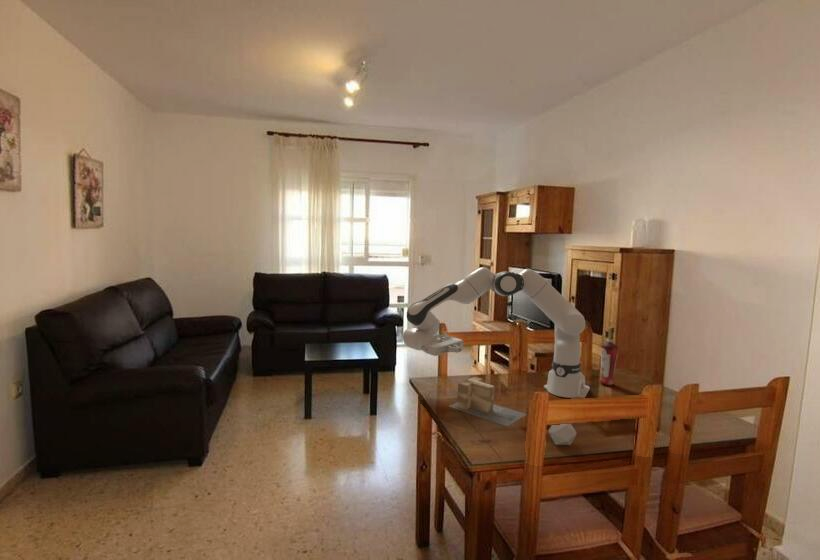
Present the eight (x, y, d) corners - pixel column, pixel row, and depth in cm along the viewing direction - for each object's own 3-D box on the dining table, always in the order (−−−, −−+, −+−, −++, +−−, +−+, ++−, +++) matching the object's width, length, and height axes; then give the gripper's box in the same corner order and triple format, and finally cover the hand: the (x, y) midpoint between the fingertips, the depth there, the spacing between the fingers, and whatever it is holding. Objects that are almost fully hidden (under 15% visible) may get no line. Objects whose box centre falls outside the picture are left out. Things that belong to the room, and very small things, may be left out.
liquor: (595, 382, 228) (599, 325, 225) (607, 381, 230) (612, 325, 227) (605, 387, 221) (610, 329, 218) (618, 386, 223) (623, 329, 220)
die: (570, 453, 155) (584, 428, 157) (548, 438, 156) (562, 413, 158) (562, 450, 163) (575, 426, 165) (541, 436, 164) (554, 412, 166)
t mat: (470, 396, 202) (470, 396, 202) (527, 414, 185) (527, 414, 185) (448, 406, 190) (448, 406, 190) (507, 427, 173) (507, 426, 173)
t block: (473, 399, 199) (474, 376, 197) (498, 407, 191) (499, 383, 190) (457, 407, 190) (458, 383, 188) (482, 415, 182) (483, 390, 181)
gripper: (418, 340, 195) (445, 347, 186) (447, 333, 210) (473, 338, 202) (418, 355, 196) (444, 362, 187) (447, 346, 211) (472, 353, 202)
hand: (459, 350), depth 194 cm, fingers closed
